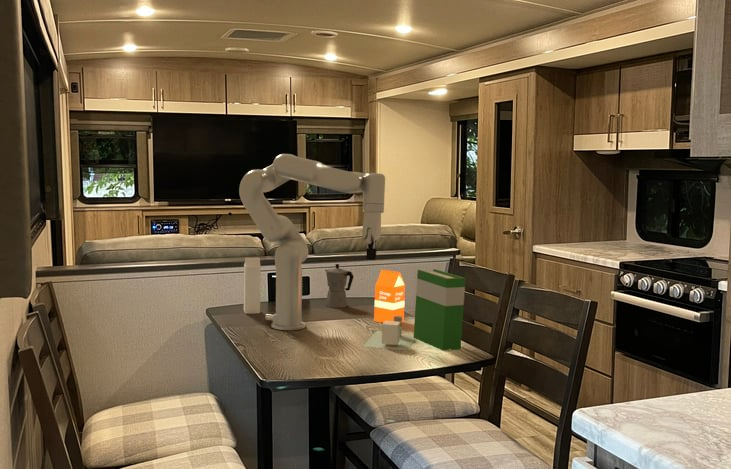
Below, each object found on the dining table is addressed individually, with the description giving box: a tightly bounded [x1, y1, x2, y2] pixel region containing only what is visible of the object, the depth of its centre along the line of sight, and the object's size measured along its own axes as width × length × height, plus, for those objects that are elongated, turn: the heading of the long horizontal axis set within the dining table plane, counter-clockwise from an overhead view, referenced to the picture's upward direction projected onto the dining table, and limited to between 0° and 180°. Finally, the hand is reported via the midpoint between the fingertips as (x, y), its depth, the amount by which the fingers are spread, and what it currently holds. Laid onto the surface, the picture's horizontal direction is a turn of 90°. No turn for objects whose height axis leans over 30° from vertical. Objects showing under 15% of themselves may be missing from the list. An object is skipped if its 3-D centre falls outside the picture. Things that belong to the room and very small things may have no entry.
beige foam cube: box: [381, 321, 400, 345], centre depth 226 cm, size 5×5×7 cm
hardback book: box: [413, 269, 466, 351], centre depth 231 cm, size 18×7×24 cm, turn 28°
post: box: [394, 315, 403, 337], centre depth 239 cm, size 3×3×7 cm
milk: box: [243, 257, 262, 314], centre depth 272 cm, size 6×6×22 cm
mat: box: [362, 330, 416, 351], centre depth 233 cm, size 15×22×1 cm
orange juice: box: [373, 269, 406, 324], centre depth 261 cm, size 8×9×20 cm
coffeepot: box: [325, 263, 354, 309], centre depth 288 cm, size 15×9×18 cm, turn 51°
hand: (371, 259), depth 243 cm, fingers closed
